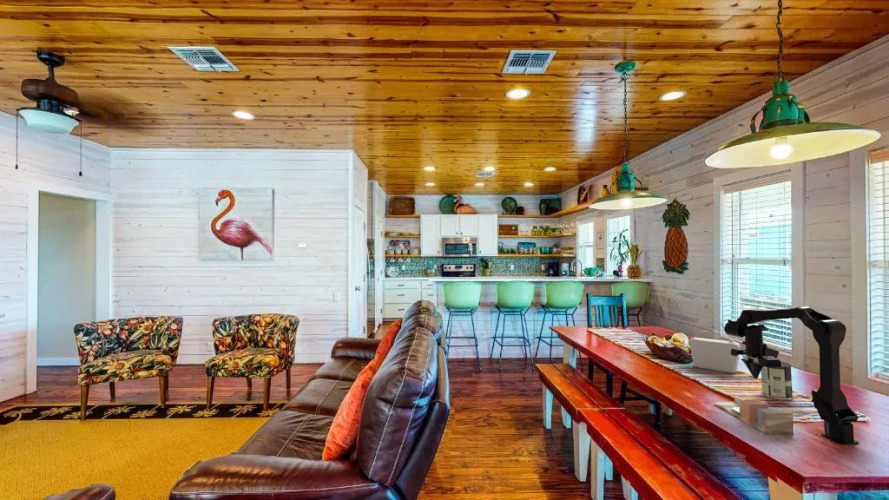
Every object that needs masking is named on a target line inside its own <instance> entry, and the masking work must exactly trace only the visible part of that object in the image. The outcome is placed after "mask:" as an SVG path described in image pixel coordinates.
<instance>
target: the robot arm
mask: <svg viewBox="0 0 889 500" xmlns="http://www.w3.org/2000/svg"><path fill="white" fill-rule="evenodd" d="M785 319H798V320H800V321H801V322H802V324H803V325H804V326H805V327H806V328H808V329H809V330H810V331H811V332H812V336H813V339H814V340H815V342H816V343H817V344H818V352H819V353H818V356H819V357H818V358H819V363H818V364H819V387H818V388H817V389H813V390H811V398H812V399H811V401H810V402H811V403H813V407H814V409H816V411H817V413H818V415H819V418H820V420H821V421H823V424H824V427H823V428H824V432H820V435H821V436H823V437H824V438H827V439H829V440H831V441H833V442H836V443H837V444H839V445H840V444H841V445H843V444H845V445H849V444H850V445H851V444H859V443H860V442H859V441H858V440H856V439H855V436H854V433H855V431H854V424H853V423H857V422H858V419H859V416H858V414H856V413H855V412H854V410H853V409H852V408H850V406H849V403H848V401H847V397H846V395H845V394H844V392H843V391H842V389H841V365H840V364H841V361H840V357H841V355H840V346H842V344H843V342H844V340H845V338H846V334H847V327H846V325H845V324H844V323H843V322H841V320H838V319H833V318H832V317H831V316H829V315H826V314H824V313H821V312H819V311H817V310H815V309H813V308H812V307H810V306H797V307H792V308H783V309H782V308H781V309H780V308H779V309H766V308H765V309H764V308H763V309H761V308H751V309H749V308H748V309H743V310H742V311H741V312H740V316H739V317H737V319H727V322H726V323H725V326H724V328H723V329H724V334H725V335H727V336H729V335H730V336H731V337H732V336H733V337H738V338H742V339H743V338H744V341H743V340H742V343H741V344H743V345H744V347H740V348H732V350H731V355H733V356H738V355H739V356H742V358H741V359H740V360H741V361H742V363H743V364H744V365H745V367H746V368H747V370H748V371H749V372H750V374H751V376H752V378H753V379H759V376H760V375H761V370H762V368H763V367H782V362H783V361H781V360H780V359H778V358H779V354H780V351H779V350H777V349H773V348H770V347H768V345H767V343H765V342H764V333H763V332H765V331H767V332H768V331H769V328H768V327H767V326H765V325H764V324H763V323H767V322H769V321H773V320H785ZM756 324H758V325H756Z"/></svg>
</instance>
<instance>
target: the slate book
mask: <svg viewBox="0 0 889 500" xmlns="http://www.w3.org/2000/svg"><path fill="white" fill-rule="evenodd" d="M778 410H781V409H780V408H776V407H774V408H773V407H771V408H770V407H768V408H766V409H758V425H759V426H760V427H762V411H778Z"/></svg>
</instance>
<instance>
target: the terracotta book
mask: <svg viewBox="0 0 889 500" xmlns="http://www.w3.org/2000/svg"><path fill="white" fill-rule="evenodd" d="M766 408H769V403H767V402H765V401H763V400H761V399H758V400H753V399H744V400H741V416H742V417H744V418H746V419H748V420H750V421H751V420H758V409H766Z"/></svg>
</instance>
